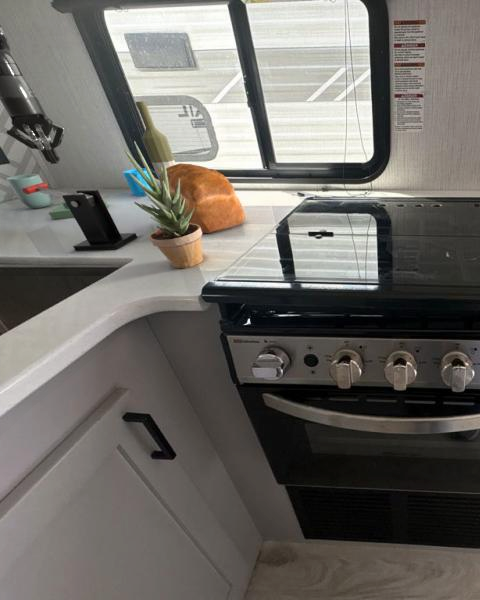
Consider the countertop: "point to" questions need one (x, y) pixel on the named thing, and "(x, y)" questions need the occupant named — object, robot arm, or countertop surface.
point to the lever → (52, 192)
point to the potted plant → (170, 219)
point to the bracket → (95, 223)
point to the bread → (206, 197)
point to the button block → (63, 211)
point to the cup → (29, 199)
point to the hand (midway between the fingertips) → (55, 163)
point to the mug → (132, 184)
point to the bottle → (155, 142)
